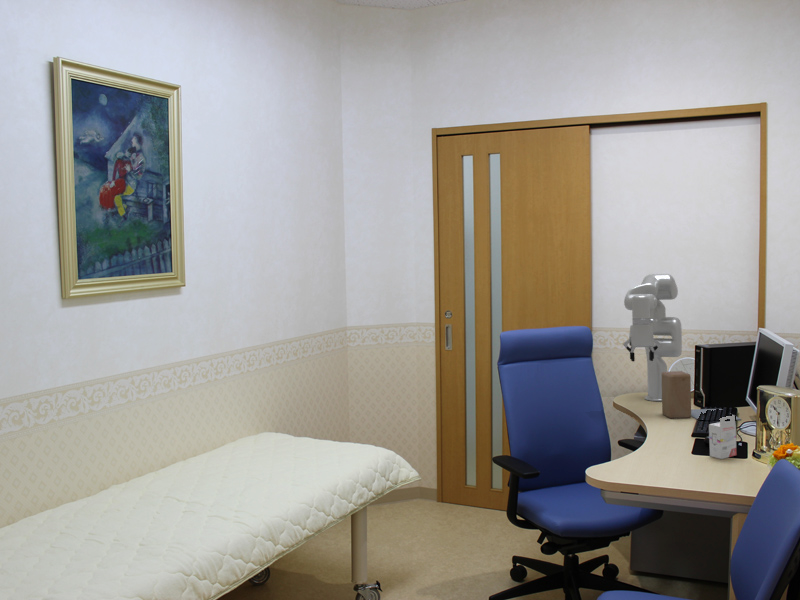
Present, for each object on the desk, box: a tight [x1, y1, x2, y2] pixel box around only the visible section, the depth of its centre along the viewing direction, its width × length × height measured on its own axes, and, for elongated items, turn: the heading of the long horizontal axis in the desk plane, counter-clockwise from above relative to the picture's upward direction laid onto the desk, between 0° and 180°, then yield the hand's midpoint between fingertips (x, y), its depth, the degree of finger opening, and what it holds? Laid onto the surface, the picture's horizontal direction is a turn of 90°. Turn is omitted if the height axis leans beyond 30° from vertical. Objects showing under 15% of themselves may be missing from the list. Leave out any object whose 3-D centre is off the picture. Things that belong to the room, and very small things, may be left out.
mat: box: [690, 408, 742, 421], centre depth 304 cm, size 22×18×1 cm
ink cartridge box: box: [708, 414, 737, 460], centre depth 239 cm, size 9×5×15 cm, turn 117°
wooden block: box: [661, 370, 692, 419], centre depth 304 cm, size 10×10×20 cm
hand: (642, 360), depth 305 cm, fingers open, 7 cm apart
